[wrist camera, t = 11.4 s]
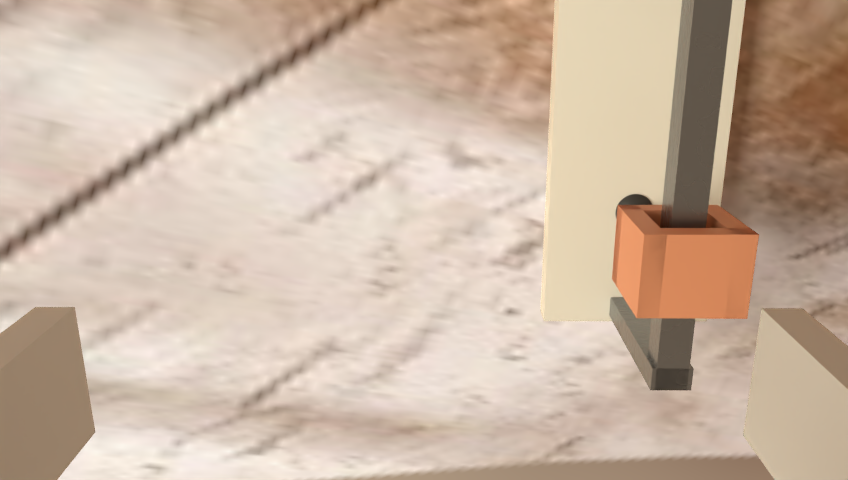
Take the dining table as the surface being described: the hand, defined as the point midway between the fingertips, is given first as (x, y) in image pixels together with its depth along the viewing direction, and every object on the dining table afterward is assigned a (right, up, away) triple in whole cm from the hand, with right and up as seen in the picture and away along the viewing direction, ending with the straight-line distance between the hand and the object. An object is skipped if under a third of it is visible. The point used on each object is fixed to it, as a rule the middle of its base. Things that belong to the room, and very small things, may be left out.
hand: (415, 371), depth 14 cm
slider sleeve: (+13, +4, +28) cm, 31 cm away
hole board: (+13, +11, +29) cm, 33 cm away
